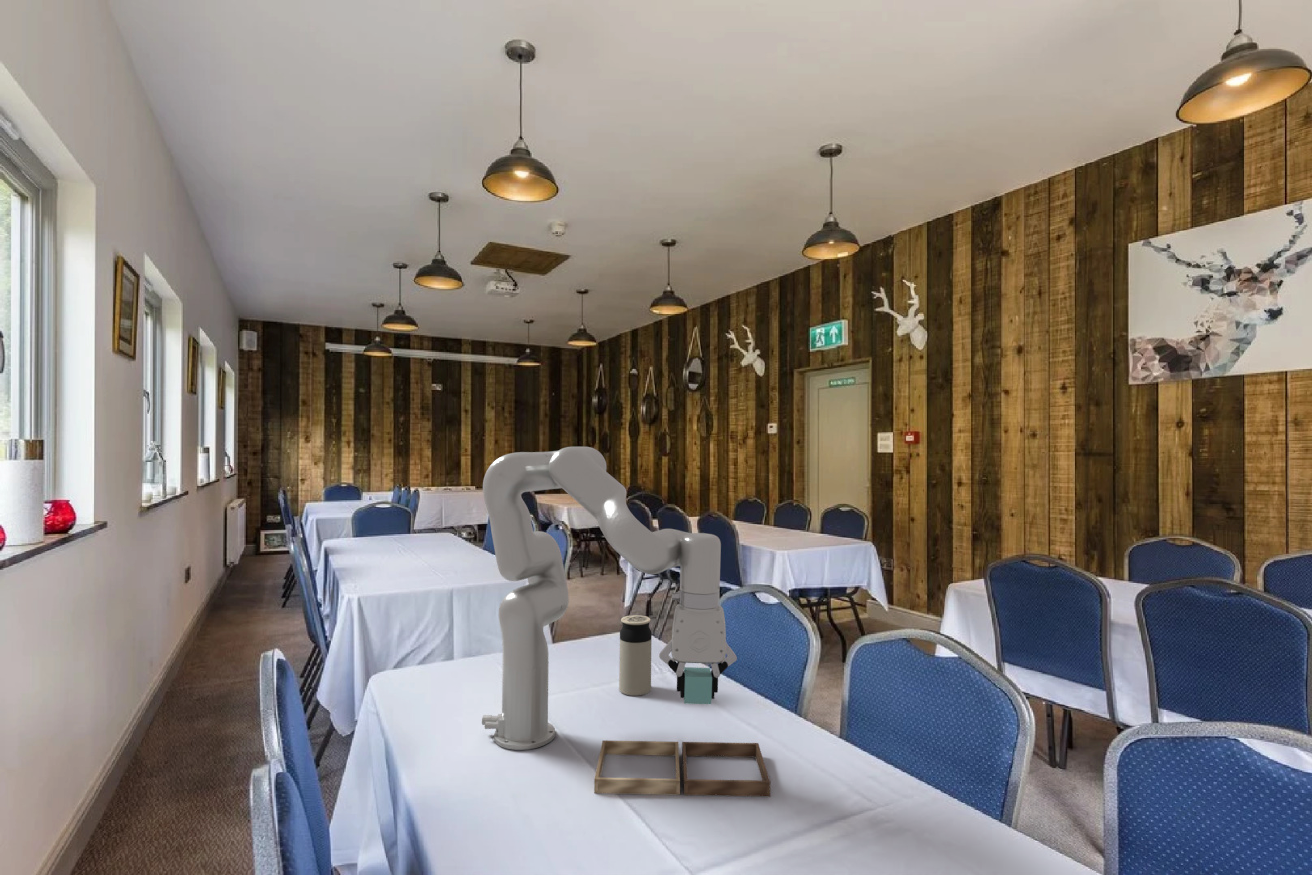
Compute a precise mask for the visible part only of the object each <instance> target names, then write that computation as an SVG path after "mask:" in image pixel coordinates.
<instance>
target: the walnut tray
mask: <svg viewBox="0 0 1312 875" xmlns="http://www.w3.org/2000/svg"><path fill="white" fill-rule="evenodd" d="M681 748H682V749H681V756H682V757H681V758H682V759H681V760H682V776H683V777H682V779H683V795H684V796H719V797H720V796H721V797H722V796H726V797H727V796H728V797H729V796H730V797H771V781H770V776H769V774H768V771H767V768H766V764H765V762H764V761H765V760H764V757H763V754H762V750H761V747H760V744H759V742H722V741H720V742H717V741H715V742H713V741H711V742H710V741H709V742H708V741H682V743H681ZM689 756H690V757H730V758H731V757H732V758H733V757H735V758H737V757H738V758H740V757H741V758H745V757H746V758H755V760H756V763H757V767H758V771H759V774H760V777H761V780H759V779H758V780H756V779H755V780H754V779H753V780H751V779H702V778H701V779H699V778H697V779H696V778H694V779H693V778H688V765H687V764H688V763H687V757H689Z"/></svg>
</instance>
